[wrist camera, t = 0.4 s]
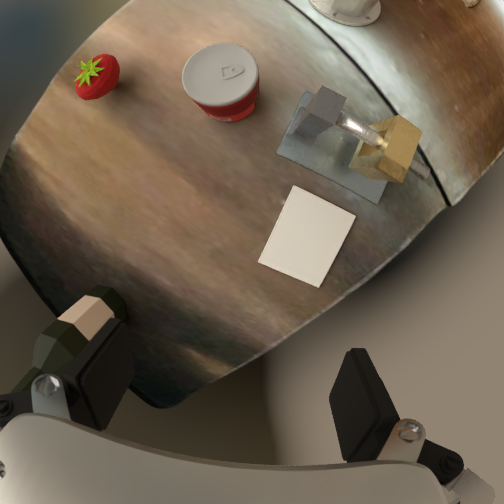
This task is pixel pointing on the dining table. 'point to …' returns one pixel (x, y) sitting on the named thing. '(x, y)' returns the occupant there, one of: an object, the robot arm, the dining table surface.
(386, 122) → the rectangular frame block
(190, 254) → the dining table surface
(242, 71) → the canned food
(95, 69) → the strawberry
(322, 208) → the pad
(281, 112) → the dining table surface
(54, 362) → the wine bottle
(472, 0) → the pizza slice
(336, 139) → the stand
